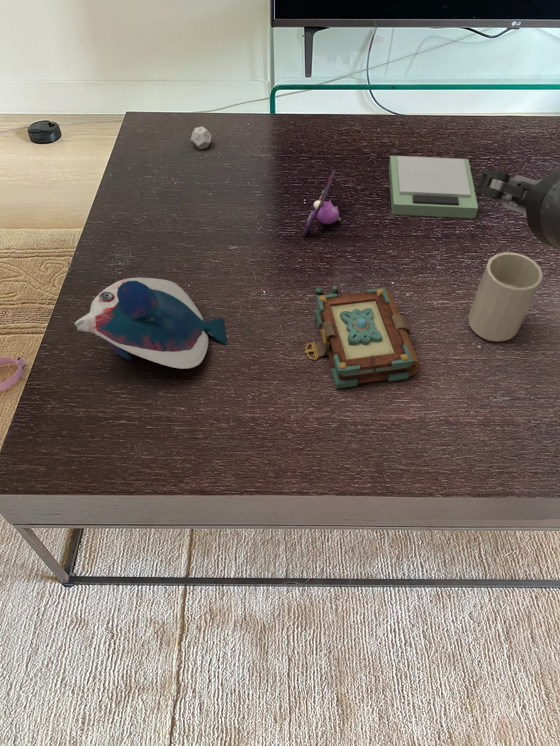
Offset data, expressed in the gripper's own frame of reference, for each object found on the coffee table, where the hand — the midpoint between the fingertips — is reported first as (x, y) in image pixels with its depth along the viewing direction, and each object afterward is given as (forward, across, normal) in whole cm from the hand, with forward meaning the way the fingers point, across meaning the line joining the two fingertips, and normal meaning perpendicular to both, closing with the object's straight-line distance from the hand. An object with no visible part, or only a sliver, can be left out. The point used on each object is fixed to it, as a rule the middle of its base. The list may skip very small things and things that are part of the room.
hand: (525, 198), depth 71 cm
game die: (+40, +43, +8) cm, 60 cm away
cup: (+7, -5, +16) cm, 18 cm away
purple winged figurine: (+24, +19, +12) cm, 33 cm away
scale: (+32, +4, +2) cm, 32 cm away
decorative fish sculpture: (+3, +36, +31) cm, 48 cm away
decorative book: (+5, +12, +23) cm, 26 cm away
